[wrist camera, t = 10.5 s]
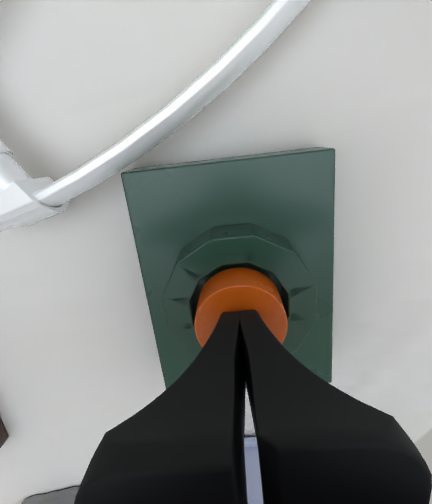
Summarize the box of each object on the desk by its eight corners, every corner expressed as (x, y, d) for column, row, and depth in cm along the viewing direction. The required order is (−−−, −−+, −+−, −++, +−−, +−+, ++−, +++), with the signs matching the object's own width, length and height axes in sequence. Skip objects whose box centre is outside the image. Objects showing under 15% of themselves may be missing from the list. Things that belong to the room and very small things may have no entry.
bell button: (282, 336, 14) (289, 362, 12) (203, 342, 14) (200, 368, 13) (278, 263, 13) (286, 281, 11) (192, 270, 13) (188, 289, 12)
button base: (320, 356, 19) (343, 410, 15) (172, 366, 19) (160, 421, 16) (320, 146, 15) (352, 149, 11) (134, 168, 15) (104, 178, 12)
